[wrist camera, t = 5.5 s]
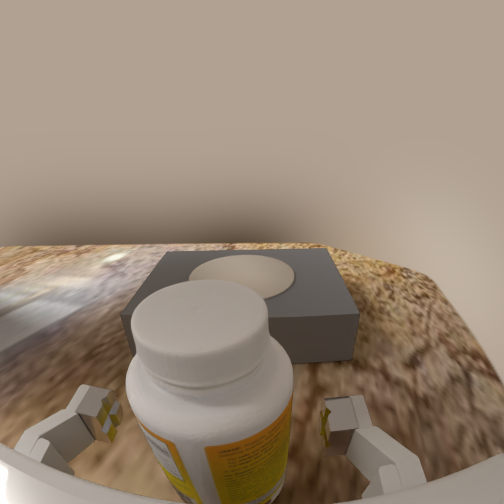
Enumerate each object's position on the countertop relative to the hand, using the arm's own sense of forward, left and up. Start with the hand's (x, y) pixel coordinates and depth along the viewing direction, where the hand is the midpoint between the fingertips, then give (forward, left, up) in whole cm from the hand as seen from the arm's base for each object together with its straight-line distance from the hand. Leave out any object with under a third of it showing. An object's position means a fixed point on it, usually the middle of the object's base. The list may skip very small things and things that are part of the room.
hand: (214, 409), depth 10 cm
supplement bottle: (0, 0, -6) cm, 6 cm away
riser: (-10, +10, -5) cm, 16 cm away
